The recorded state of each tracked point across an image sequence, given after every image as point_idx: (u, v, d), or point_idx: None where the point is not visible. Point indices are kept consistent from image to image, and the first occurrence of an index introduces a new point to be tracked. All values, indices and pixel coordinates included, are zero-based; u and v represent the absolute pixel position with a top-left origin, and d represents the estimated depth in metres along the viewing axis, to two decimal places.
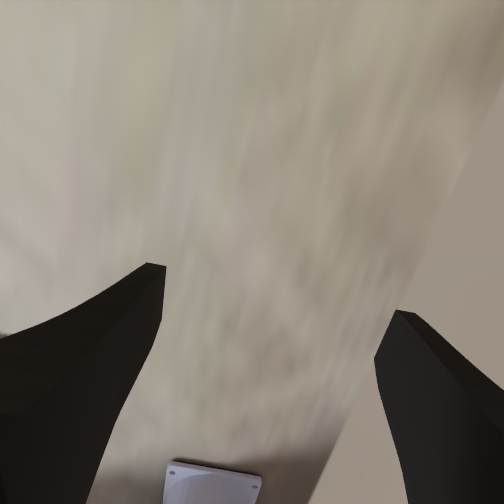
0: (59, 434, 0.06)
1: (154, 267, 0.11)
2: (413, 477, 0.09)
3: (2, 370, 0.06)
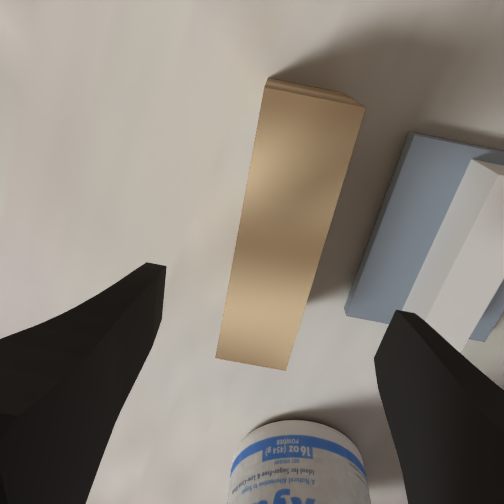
0: (59, 434, 0.06)
1: (154, 267, 0.11)
2: (413, 477, 0.09)
3: (2, 370, 0.06)
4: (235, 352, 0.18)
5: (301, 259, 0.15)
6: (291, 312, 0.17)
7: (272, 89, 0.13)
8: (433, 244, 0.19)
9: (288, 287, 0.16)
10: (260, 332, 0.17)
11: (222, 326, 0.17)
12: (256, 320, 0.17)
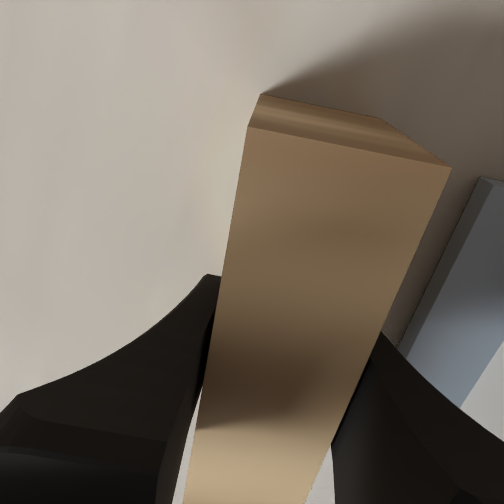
0: (173, 454, 0.06)
1: (216, 279, 0.11)
2: (339, 464, 0.09)
3: (123, 392, 0.06)
4: None
5: (314, 407, 0.09)
6: (297, 474, 0.10)
7: (264, 130, 0.06)
8: None
9: (292, 444, 0.10)
10: (248, 497, 0.11)
11: (187, 488, 0.11)
12: (241, 483, 0.11)
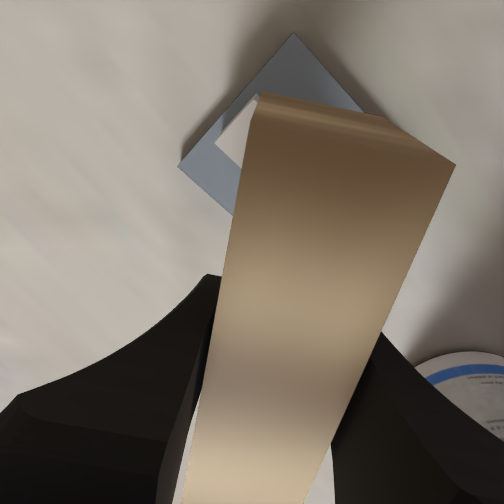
0: (173, 454, 0.06)
1: (217, 279, 0.11)
2: (339, 464, 0.09)
3: (124, 392, 0.06)
4: None
5: (315, 406, 0.09)
6: (297, 473, 0.10)
7: (266, 126, 0.06)
8: None
9: (292, 443, 0.10)
10: (247, 496, 0.11)
11: (186, 486, 0.11)
12: (240, 482, 0.11)
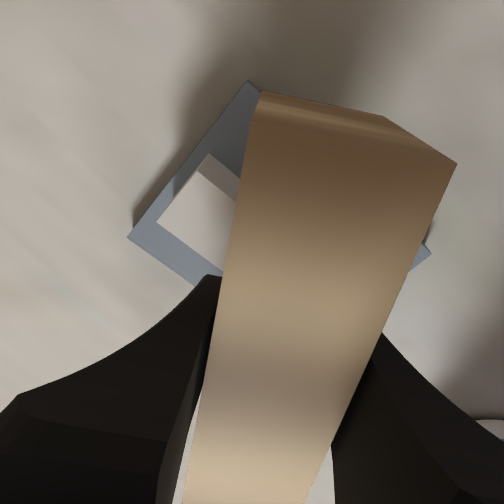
0: (173, 454, 0.06)
1: (216, 279, 0.11)
2: (339, 464, 0.09)
3: (124, 392, 0.06)
4: None
5: (316, 405, 0.09)
6: (298, 473, 0.10)
7: (267, 124, 0.06)
8: None
9: (293, 443, 0.10)
10: (247, 496, 0.11)
11: (186, 486, 0.11)
12: (241, 482, 0.11)
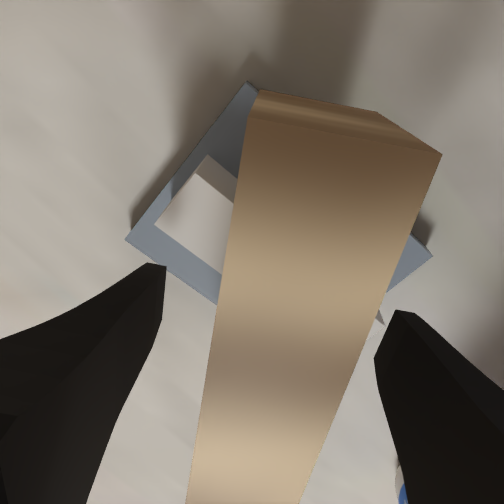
0: (59, 434, 0.06)
1: (154, 267, 0.11)
2: (412, 477, 0.09)
3: (2, 370, 0.06)
4: (214, 502, 0.12)
5: (314, 390, 0.09)
6: (299, 457, 0.11)
7: (263, 120, 0.07)
8: None
9: (293, 426, 0.10)
10: (251, 480, 0.11)
11: (192, 471, 0.11)
12: (244, 466, 0.11)
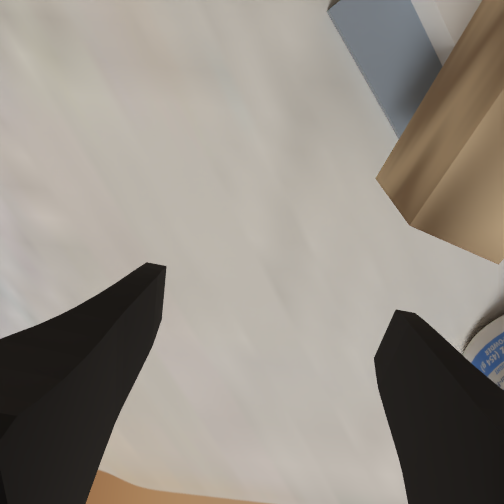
0: (59, 434, 0.06)
1: (154, 267, 0.11)
2: (413, 477, 0.09)
3: (2, 370, 0.06)
4: (443, 221, 0.12)
5: None
6: None
7: None
8: None
9: None
10: (498, 193, 0.12)
11: (448, 171, 0.11)
12: None
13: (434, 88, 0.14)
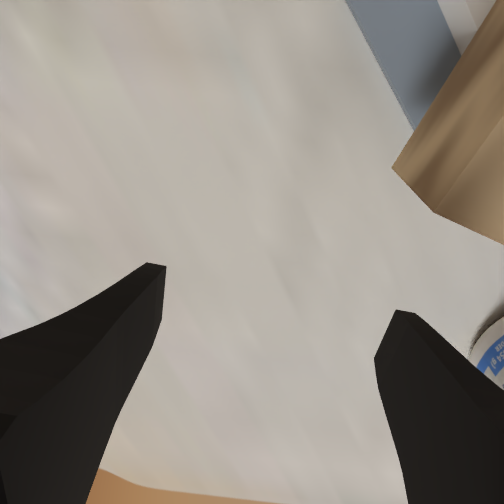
0: (59, 434, 0.06)
1: (154, 267, 0.11)
2: (413, 477, 0.09)
3: (2, 370, 0.06)
4: (468, 208, 0.12)
5: None
6: None
7: None
8: None
9: None
10: None
11: (476, 156, 0.11)
12: None
13: (456, 74, 0.14)
